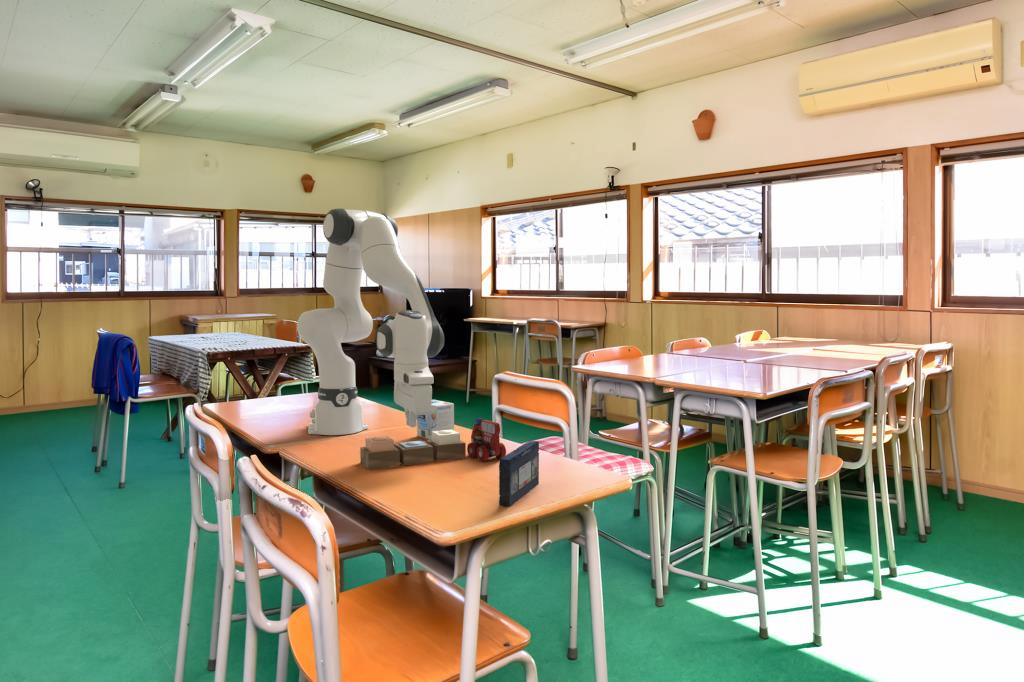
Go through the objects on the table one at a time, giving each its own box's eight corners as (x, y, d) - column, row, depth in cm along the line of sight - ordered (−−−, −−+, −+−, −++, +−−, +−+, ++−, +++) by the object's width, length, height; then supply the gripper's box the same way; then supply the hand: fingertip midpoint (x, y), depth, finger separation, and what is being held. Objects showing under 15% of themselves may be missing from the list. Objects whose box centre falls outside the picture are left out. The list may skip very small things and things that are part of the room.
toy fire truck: (484, 451, 188) (484, 414, 188) (509, 460, 178) (509, 421, 177) (462, 455, 185) (462, 416, 184) (487, 464, 174) (486, 424, 174)
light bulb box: (416, 436, 208) (415, 401, 208) (434, 433, 213) (433, 399, 212) (437, 442, 200) (436, 405, 200) (455, 438, 205) (454, 403, 204)
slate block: (399, 457, 180) (399, 441, 180) (420, 455, 182) (420, 439, 182) (406, 462, 175) (406, 446, 174) (428, 460, 177) (427, 443, 177)
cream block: (431, 446, 184) (431, 430, 183) (451, 443, 186) (451, 428, 186) (439, 450, 179) (439, 434, 178) (460, 448, 181) (459, 432, 181)
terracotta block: (365, 453, 176) (365, 437, 175) (387, 451, 178) (387, 434, 178) (371, 458, 170) (371, 441, 170) (394, 455, 173) (393, 439, 173)
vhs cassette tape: (509, 507, 139) (509, 459, 138) (496, 506, 140) (496, 458, 140) (541, 484, 156) (541, 441, 155) (529, 483, 157) (529, 440, 156)
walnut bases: (360, 462, 176) (360, 447, 176) (454, 451, 188) (454, 437, 188) (368, 469, 169) (368, 453, 169) (465, 457, 181) (465, 442, 181)
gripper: (388, 369, 185) (388, 419, 186) (411, 379, 167) (411, 435, 168) (410, 368, 188) (410, 417, 189) (436, 377, 169) (436, 432, 171)
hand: (411, 426), depth 178 cm, fingers closed
